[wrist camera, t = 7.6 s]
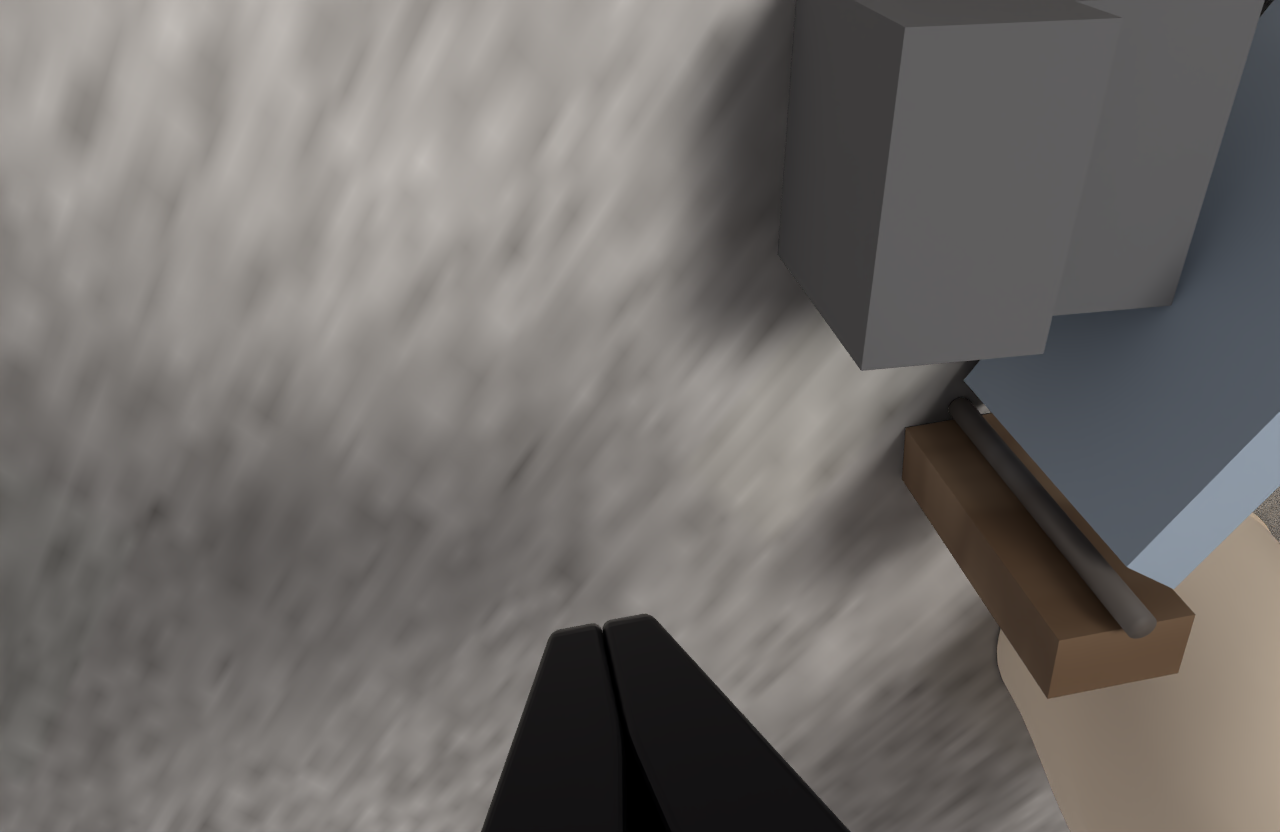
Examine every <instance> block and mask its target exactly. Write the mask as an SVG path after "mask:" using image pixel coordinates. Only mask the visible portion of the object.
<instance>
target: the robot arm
mask: <svg viewBox="0 0 1280 832" xmlns="http://www.w3.org/2000/svg"><path fill="white" fill-rule="evenodd" d="M481 832H850V831H849V830H848V829H847V827H846V826H845V825H844V824H843V823H842V822H841V821H840V820H839V819H838V818H837V817H836V815H835V814H834V813H833V812H832V811H831V810H830V809H829V808H828V807H827V806H826V805H825V803H824V802H823V801H822V800H821V799H820V798H819V797H818V796H817V795H816V794H815V793H814V791H813V790H812V789H811V788H810V787H809V786H808V785H807V784H806V783H805V782H804V781H803V779H802V778H801V777H800V776H799V775H798V774H797V773H796V772H795V771H794V770H793V768H792V767H791V766H790V765H789V764H788V763H787V762H786V761H785V760H784V759H783V758H782V756H781V755H780V754H779V753H778V752H777V751H776V750H775V749H774V748H773V747H772V746H771V744H770V743H769V742H768V741H767V740H766V739H765V738H764V737H763V736H762V735H761V734H760V732H759V731H758V730H757V729H756V728H755V727H754V726H753V725H752V724H751V723H750V722H749V720H748V719H747V718H746V717H745V716H744V715H743V714H742V713H741V712H740V711H739V709H738V708H737V707H736V706H735V705H734V704H733V703H732V702H731V701H730V700H729V699H728V697H727V696H726V695H725V694H724V693H723V692H722V691H721V690H720V689H719V688H718V687H717V685H716V684H715V683H714V682H713V681H712V680H711V679H710V678H709V677H708V676H707V675H706V673H705V672H704V671H703V670H702V669H701V668H700V667H699V666H698V665H697V664H696V663H695V661H694V660H693V659H692V658H691V657H690V656H689V655H688V654H687V653H686V652H685V650H684V649H683V648H682V647H681V646H680V645H679V644H678V643H677V642H676V641H675V640H674V638H673V637H672V636H671V635H670V634H669V633H668V632H667V631H666V630H665V629H664V628H663V626H662V625H661V624H660V623H659V622H658V621H657V620H656V619H655V618H654V617H652V616H651V615H648V614H640V615H635V616H629V617H624V618H618V619H613V620H609V621H607V622H606V623H605V624H604V626H603V633H602V630H601V628H600V626H599V625H597V624H586V625H581V626H576V627H570V628H565V629H560V630H556V631H555V632H553V633H552V634H551V636H550V637H549V639H548V642H547V645H546V647H545V650H544V653H543V656H542V659H541V662H540V665H539V667H538V670H537V673H536V676H535V679H534V682H533V685H532V687H531V690H530V693H529V696H528V699H527V702H526V705H525V708H524V710H523V713H522V716H521V719H520V722H519V725H518V728H517V730H516V733H515V736H514V739H513V742H512V745H511V748H510V750H509V753H508V756H507V759H506V762H505V765H504V768H503V770H502V773H501V776H500V779H499V782H498V785H497V788H496V790H495V793H494V796H493V799H492V802H491V805H490V808H489V810H488V813H487V816H486V819H485V822H484V825H483V828H482V830H481Z"/></svg>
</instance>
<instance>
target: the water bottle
mask: <svg viewBox="0 0 1280 832" xmlns="http://www.w3.org/2000/svg"><path fill="white" fill-rule="evenodd" d="M1173 590H1174V591H1175V592H1176V593H1177V595H1178V596H1179V597H1180V598H1181V599H1182V600H1183V601H1184V602H1185V603H1186V604H1187V606H1188V607H1189V608H1190V609H1191V610H1192V611H1193V612H1194V613H1195V614H1196V615H1195V618H1194V622H1193V625H1192V628H1191V632H1190V635H1189V638H1188V642H1187V645H1186V648H1185V652H1184V655H1183V659H1182V662H1181V665H1180V669H1179V672H1178V673H1177V674H1172V675H1167V676H1162V677H1157V678H1152V679H1147V680H1142V681H1136V682H1131V683H1126V684H1121V685H1116V686H1111V687H1106V688H1101V689H1096V690H1091V691H1086V692H1081V693H1076V694H1071V695H1066V696H1061V697H1056V698H1050V699H1047V698H1046V696H1045V695H1044V693H1043V692H1042V690H1041V689H1040V687H1039V686H1038V684H1037V682H1036V681H1035V679H1034V678H1033V676H1032V675H1031V673H1030V672H1029V670H1028V669H1027V667H1026V666H1025V664H1024V663H1023V661H1022V660H1021V658H1020V657H1019V655H1018V654H1017V652H1016V651H1015V649H1014V648H1013V646H1012V645H1011V643H1010V642H1009V640H1008V639H1007V637H1006V636H1005V634H1004V633H1003V631H1002V630H1001V629H1000V633H999V638H998V645H997V663H998V667H999V670H1000V674H1001V677H1002V680H1003V682H1004V683H1005V685H1006V687H1007V689H1008V691H1009V693H1010V695H1011V696H1012V698H1013V700H1014V702H1015V704H1016V706H1017V707H1018V709H1019V711H1020V713H1021V715H1022V717H1023V720H1024V722H1025V724H1026V727H1027V729H1028V731H1029V733H1030V736H1031V738H1032V740H1033V743H1034V745H1035V748H1036V750H1037V753H1038V756H1039V758H1040V761H1041V763H1042V766H1043V768H1044V771H1045V773H1046V776H1047V778H1048V781H1049V783H1050V786H1051V788H1052V791H1053V793H1054V796H1055V798H1056V801H1057V803H1058V805H1059V808H1060V810H1061V812H1062V814H1063V816H1064V819H1065V821H1066V823H1067V825H1068V827H1069V830H1070V832H1280V543H1279V542H1278V541H1277V540H1276V539H1275V538H1274V537H1273V535H1272V534H1271V533H1270V531H1269V529H1268V527H1267V526H1266V524H1265V523H1264V522H1263V521H1262V520H1261V519H1260V518H1259V517H1258V516H1257V515H1255V514H1254V513H1251V514H1250V515H1249V516H1248V517H1247V518H1246V519H1245V520H1244V521H1243V522H1242V523H1241V524H1240V525H1239V526H1238V527H1237V528H1236V529H1235V530H1234V531H1233V532H1232V533H1231V534H1230V535H1229V536H1228V537H1227V538H1226V539H1225V540H1224V541H1223V542H1222V543H1221V544H1220V545H1219V546H1218V547H1216V548H1215V549H1214V550H1213V551H1212V552H1211V553H1210V554H1209V555H1208V556H1207V557H1206V558H1205V559H1204V560H1203V561H1202V562H1201V563H1200V564H1199V565H1198V566H1197V567H1196V568H1195V569H1194V570H1193V571H1192V572H1191V573H1190V574H1189V575H1188V576H1187V577H1186V578H1185V579H1184V580H1183V581H1182V582H1181V583H1180V584H1179V585H1178V586H1177V587H1176V588H1175V589H1173Z"/></svg>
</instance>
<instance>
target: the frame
mask: <svg viewBox="0 0 1280 832" xmlns="http://www.w3.org/2000/svg"><path fill="white" fill-rule="evenodd" d="M948 411H949V414H950V415H951V416H952V418H953V419H954V420H948V421H943V422H937V423H931V424H925V425H919V426H913V427H907V428H906V430H905V444H904V458H903V471H902V480H903V482H904V483H905V485H906V486H907V488H908V489H909V491H910V492H911V494H912V495H913V497H914V498H915V500H916V501H917V503H918V504H919V506H920V507H921V509H922V510H923V512H924V513H925V515H926V516H927V518H928V519H929V521H930V522H931V524H932V525H933V527H934V528H935V530H936V531H937V533H938V534H939V536H940V538H941V539H942V541H943V542H944V544H945V545H946V547H947V548H948V550H949V551H950V553H951V554H952V556H953V557H954V559H955V560H956V562H957V563H958V565H959V566H960V568H961V569H962V571H963V572H964V574H965V575H966V577H967V578H968V580H969V581H970V583H971V584H972V586H973V587H974V589H975V590H976V592H977V593H978V595H979V596H980V598H981V599H982V601H983V602H984V604H985V605H986V607H987V608H988V610H989V612H990V613H991V615H992V616H993V618H994V619H995V621H996V622H997V624H998V625H999V627H1000V628H1001V630H1002V631H1003V633H1004V634H1005V636H1006V637H1007V639H1008V640H1009V642H1010V643H1011V645H1012V646H1013V648H1014V649H1015V651H1016V652H1017V654H1018V655H1019V657H1020V658H1021V660H1022V661H1023V663H1024V664H1025V666H1026V667H1027V669H1028V670H1029V672H1030V673H1031V675H1032V676H1033V678H1034V679H1035V681H1036V682H1037V684H1038V686H1039V687H1040V689H1041V690H1042V692H1043V693H1044V695H1045V696H1046V698H1047V699H1050V698H1056V697H1061V696H1066V695H1071V694H1076V693H1081V692H1086V691H1091V690H1096V689H1101V688H1106V687H1111V686H1116V685H1121V684H1126V683H1131V682H1136V681H1142V680H1147V679H1152V678H1157V677H1162V676H1167V675H1172V674H1177V673H1178V672H1179V669H1180V665H1181V662H1182V659H1183V655H1184V652H1185V648H1186V645H1187V642H1188V638H1189V635H1190V632H1191V628H1192V625H1193V622H1194V618H1195V615H1196V614H1195V613H1194V612H1193V611H1192V610H1191V609H1190V608H1189V607H1188V606H1187V604H1186V603H1185V602H1184V601H1183V600H1182V599H1181V598H1180V597H1179V596H1178V595H1177V593H1176V592H1175V591H1174V590H1173V589H1172V588H1170V587H1168V586H1166V585H1164V584H1162V583H1160V582H1157V581H1155V580H1153V579H1151V578H1149V577H1147V576H1145V575H1143V574H1140V573H1138V572H1136V571H1134V570H1132V569H1130V568H1128V567H1126V566H1125V565H1124V563H1123V562H1122V561H1121V560H1120V559H1119V558H1118V557H1117V555H1116V554H1115V553H1114V552H1113V551H1112V550H1111V549H1110V547H1109V546H1108V545H1107V544H1106V543H1105V542H1104V541H1103V539H1102V538H1101V537H1100V536H1099V535H1098V534H1097V533H1096V531H1095V530H1094V529H1093V528H1092V527H1091V526H1090V525H1089V523H1088V522H1087V521H1086V520H1085V519H1084V518H1083V517H1082V515H1081V514H1080V513H1079V512H1078V511H1077V510H1076V508H1075V507H1074V506H1073V505H1072V504H1071V503H1070V502H1069V500H1068V499H1067V498H1066V497H1065V496H1064V495H1063V494H1062V492H1061V491H1060V490H1059V489H1058V488H1057V487H1056V486H1055V484H1054V483H1053V482H1052V481H1051V480H1050V479H1049V478H1048V476H1047V475H1046V474H1045V473H1044V472H1043V471H1042V470H1041V468H1040V467H1039V466H1038V465H1037V464H1036V463H1035V462H1034V460H1033V459H1032V458H1031V457H1030V456H1029V455H1028V454H1027V452H1026V451H1025V450H1024V449H1023V448H1022V447H1021V446H1020V444H1019V443H1018V442H1017V441H1016V440H1015V439H1014V438H1013V436H1012V435H1011V434H1010V433H1009V432H1008V431H1007V430H1006V428H1005V427H1004V426H1003V425H1002V424H1001V423H1000V422H999V420H998V419H997V418H996V417H995V416H994V415H993V414H992V413H990V414H984V415H981V414H980V412H979V411H978V410H977V409H976V408H975V407H974V405H973V404H972V403H971V402H970V401H969V400H968V399H967V398H964V397H961V398H957V399H955V400H954V401H953V402H952V403H951V404H950V406H949V409H948Z"/></svg>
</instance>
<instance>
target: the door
mask: <svg viewBox="0 0 1280 832" xmlns="http://www.w3.org/2000/svg"><path fill="white" fill-rule="evenodd" d="M964 381H965V383H966V384H967V385H968V386H969V387H970V388H971V389H972V391H973V392H974V393H975V394H976V395H977V396H978V397H979V399H980V400H981V401H982V402H983V403H984V404H985V405H986V407H987V408H988V409H989V410H990V411H991V412H992V414H993V415H994V416H995V417H996V418H997V419H998V420H999V422H1000V423H1001V424H1002V425H1003V426H1004V427H1005V428H1006V430H1007V431H1008V432H1009V433H1010V434H1011V435H1012V436H1013V438H1014V439H1015V440H1016V441H1017V442H1018V443H1019V444H1020V446H1021V447H1022V448H1023V449H1024V450H1025V451H1026V452H1027V454H1028V455H1029V456H1030V457H1031V458H1032V459H1033V460H1034V462H1035V463H1036V464H1037V465H1038V466H1039V467H1040V468H1041V470H1042V471H1043V472H1044V473H1045V474H1046V475H1047V476H1048V478H1049V479H1050V480H1051V481H1052V482H1053V483H1054V484H1055V486H1056V487H1057V488H1058V489H1059V490H1060V491H1061V492H1062V494H1063V495H1064V496H1065V497H1066V498H1067V499H1068V500H1069V502H1070V503H1071V504H1072V505H1073V506H1074V507H1075V508H1076V510H1077V511H1078V512H1079V513H1080V514H1081V515H1082V517H1083V518H1084V519H1085V520H1086V521H1087V522H1088V523H1089V525H1090V526H1091V527H1092V528H1093V529H1094V530H1095V531H1096V533H1097V534H1098V535H1099V536H1100V537H1101V538H1102V539H1103V541H1104V542H1105V543H1106V544H1107V545H1108V546H1109V547H1110V549H1111V550H1112V551H1113V552H1114V553H1115V554H1116V555H1117V557H1118V558H1119V559H1120V560H1121V561H1122V562H1123V563H1124V565H1125V566H1126V567H1128V568H1130V569H1132V570H1134V571H1136V572H1138V573H1140V574H1143V575H1145V576H1147V577H1149V578H1151V579H1153V580H1155V581H1157V582H1160V583H1162V584H1164V585H1166V586H1168V587H1170V588H1172V589H1175V588H1176V587H1177V586H1178V585H1179V584H1180V583H1181V582H1182V581H1183V580H1184V579H1185V578H1186V577H1187V576H1188V575H1189V574H1190V573H1191V572H1192V571H1193V570H1194V569H1195V568H1196V567H1197V566H1198V565H1199V564H1200V563H1201V562H1202V561H1203V560H1204V559H1205V558H1206V557H1207V556H1208V555H1209V554H1210V553H1211V552H1212V551H1213V550H1214V549H1215V548H1216V547H1218V546H1219V545H1220V544H1221V543H1222V542H1223V541H1224V540H1225V539H1226V538H1227V537H1228V536H1229V535H1230V534H1231V533H1232V532H1233V531H1234V530H1235V529H1236V528H1237V527H1238V526H1239V525H1240V524H1241V523H1242V522H1243V521H1244V520H1245V519H1246V518H1247V517H1248V516H1249V515H1250V514H1251V513H1252V512H1253V511H1254V510H1255V509H1256V508H1257V507H1258V506H1259V505H1260V504H1261V503H1262V502H1264V501H1265V500H1266V499H1267V498H1268V497H1269V496H1270V495H1271V494H1272V493H1273V492H1274V491H1275V490H1276V489H1277V488H1278V487H1279V486H1280V0H1274V1H1273V2H1272V3H1271V4H1270V6H1269V7H1268V8H1267V9H1266V10H1265V12H1264V13H1263V14H1262V15H1261V17H1260V18H1259V20H1258V24H1257V27H1256V30H1255V33H1254V37H1253V40H1252V43H1251V47H1250V50H1249V53H1248V56H1247V60H1246V63H1245V66H1244V69H1243V73H1242V76H1241V79H1240V83H1239V86H1238V89H1237V92H1236V96H1235V99H1234V102H1233V105H1232V109H1231V112H1230V115H1229V119H1228V122H1227V125H1226V128H1225V132H1224V135H1223V138H1222V141H1221V145H1220V148H1219V151H1218V155H1217V158H1216V161H1215V164H1214V168H1213V171H1212V174H1211V177H1210V181H1209V184H1208V187H1207V191H1206V194H1205V197H1204V200H1203V204H1202V207H1201V210H1200V213H1199V217H1198V220H1197V223H1196V227H1195V230H1194V233H1193V236H1192V240H1191V243H1190V246H1189V249H1188V253H1187V256H1186V259H1185V263H1184V266H1183V269H1182V272H1181V276H1180V279H1179V282H1178V286H1177V289H1176V292H1175V295H1174V299H1173V302H1172V305H1171V306H1160V307H1148V308H1137V309H1125V310H1114V311H1102V312H1091V313H1079V314H1068V315H1056V316H1052V320H1051V324H1050V329H1049V333H1048V337H1047V341H1046V346H1045V350H1044V354H1036V355H1026V356H1015V357H1004V358H993V359H982V360H980V361H979V362H978V363H977V365H976V366H975V367H974V368H973V369H972V371H971V372H970V373H969V374H968V376H967V377H966V378H965V379H964Z"/></svg>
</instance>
